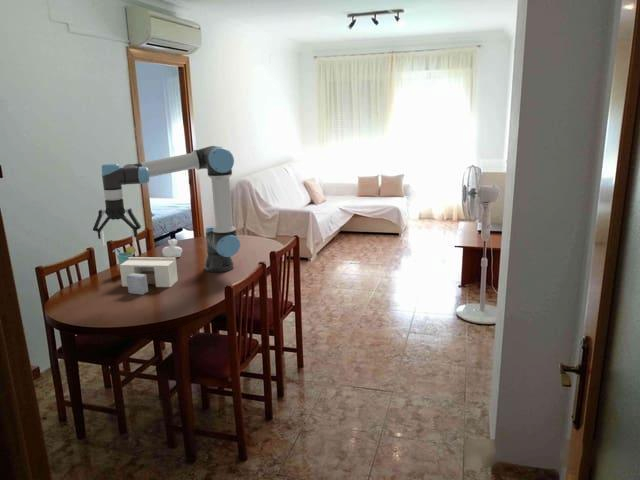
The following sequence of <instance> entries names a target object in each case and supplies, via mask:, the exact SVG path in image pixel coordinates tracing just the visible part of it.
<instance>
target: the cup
mask: <svg viewBox="0 0 640 480" xmlns="http://www.w3.org/2000/svg"><path fill="white" fill-rule="evenodd" d="M111 252H112V253H115V252H118V254H117V255H116V257H117V258H118V259H117V260H118V263H119V265H120V264H122V263H124V262H125V261H127V260H128V258H129V257H134V255H135V254H136V248H135V246H131V245H129V246H128V247H126V250H125V252H121V250H120V249H119V248H115V249H114V250H112V251H111Z"/></svg>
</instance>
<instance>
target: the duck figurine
mask: <svg viewBox="0 0 640 480" xmlns="http://www.w3.org/2000/svg"><path fill="white" fill-rule="evenodd" d="M167 243H168V244H169V246H165V247H163V248H162V249H161V250H162V255H163V257H164V258H180V257H181V255H182V252H183V248H182V247H180V246H177V245H178V240H177V239H176V238H171V239H168V240H167Z"/></svg>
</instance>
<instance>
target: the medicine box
mask: <svg viewBox="0 0 640 480" xmlns="http://www.w3.org/2000/svg"><path fill="white" fill-rule="evenodd" d="M127 284H128V286H127V291H128V294H131V295H132V294H133V295H145V294H146V293H148V292H149V284H147V277H146V274H136V273H132V274H130V275H128V276H127Z"/></svg>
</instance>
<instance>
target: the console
mask: <svg viewBox="0 0 640 480" xmlns="http://www.w3.org/2000/svg"><path fill="white" fill-rule="evenodd" d="M177 268H178V266H177V257H175V258H173V257H170V258H168V257H161V256H160V257H157V256H156V257H152V256H151V257H143V256H139V257H137V256H132V257H129V258H128V260H127V261H125V262H124V263H122V264H119V271H120V279H121V286H122V287H128V284H127V276H128V275H130V274H132V273H136V274H146V277H147V285H155V287H156V288H171V287H172V286H174V284H176V282H179V281H178V279H179V278H178V269H177Z"/></svg>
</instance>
